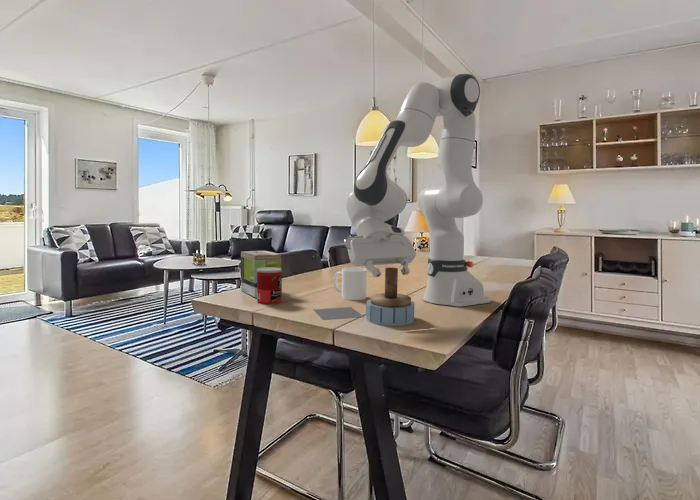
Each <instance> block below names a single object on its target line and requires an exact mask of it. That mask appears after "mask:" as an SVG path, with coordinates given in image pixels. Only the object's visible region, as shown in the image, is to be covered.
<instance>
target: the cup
mask: <svg viewBox="0 0 700 500" xmlns="http://www.w3.org/2000/svg"><path fill="white" fill-rule="evenodd" d="M367 270H368V269H366V268H363V267H344V268H342V269H341V271H337V272H336V273H335V274H334V277H333V287H334V289H335V290H336V291H337V292H339V293H340V294H341V298H342V299H343V300H346V301H362V300H366V298H367V280H368V279H367V275H368V271H367ZM339 276H341V288H340V287H339V286H338V277H339Z"/></svg>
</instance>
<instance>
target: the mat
mask: <svg viewBox="0 0 700 500" xmlns="http://www.w3.org/2000/svg"><path fill="white" fill-rule="evenodd" d="M313 312H314V313H316V314H317V315H318V317H320V319H321V320H323V321H328V320H340V319H342V320H344V319H355V318H365V316H364V315H363V314H361V313H360V312H359V311H357V310H355V308H353V307H351V306H347V307H345V306H344V307H332V308H330V307H329V308H318V309H317V308H315V309H313Z"/></svg>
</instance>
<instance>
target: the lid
mask: <svg viewBox="0 0 700 500" xmlns="http://www.w3.org/2000/svg"><path fill="white" fill-rule="evenodd" d="M384 269H385V271H384V272H385V273H384V293H376V294H372V295H371V296H370V299H371V303H372V304H373V305H376V306H381V307H405V306H409V305H411V301H412V297H411V296H409V295H407V294H402V293H398V279H399V278H398V277H399V276H398V275H399V274H398V273H399V268H397V267H386V268H384Z"/></svg>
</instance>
